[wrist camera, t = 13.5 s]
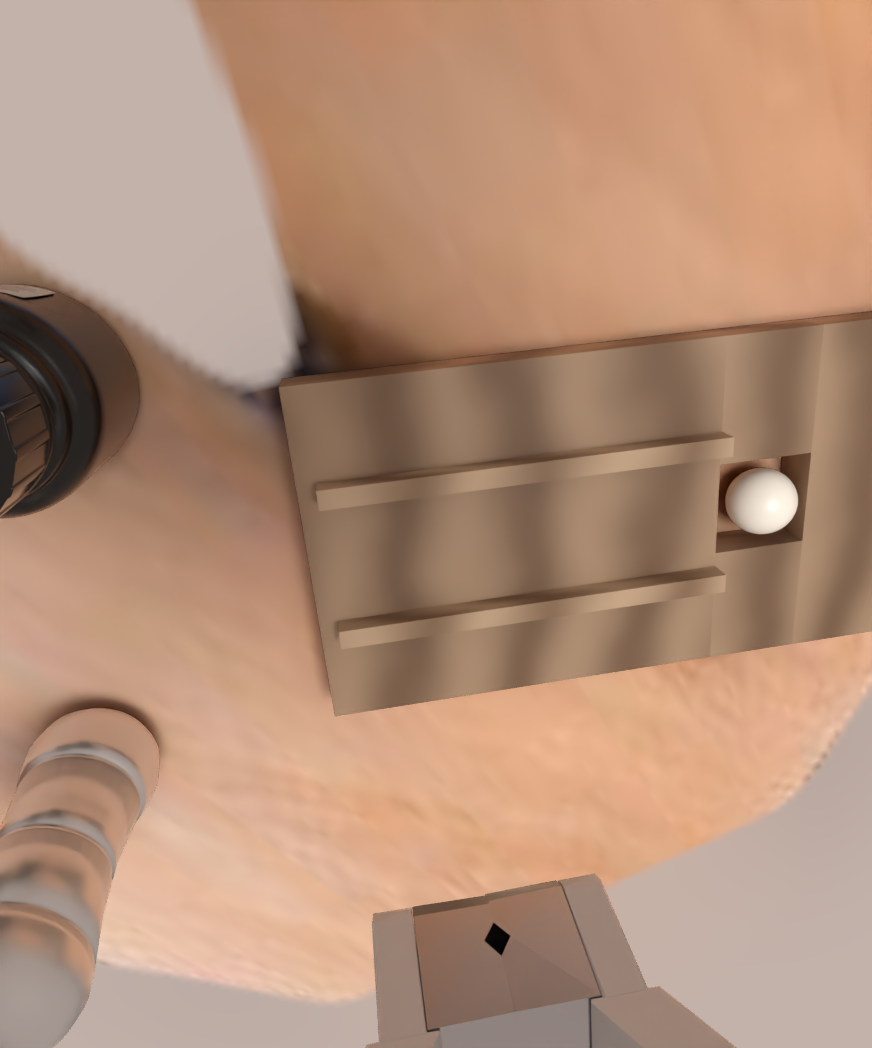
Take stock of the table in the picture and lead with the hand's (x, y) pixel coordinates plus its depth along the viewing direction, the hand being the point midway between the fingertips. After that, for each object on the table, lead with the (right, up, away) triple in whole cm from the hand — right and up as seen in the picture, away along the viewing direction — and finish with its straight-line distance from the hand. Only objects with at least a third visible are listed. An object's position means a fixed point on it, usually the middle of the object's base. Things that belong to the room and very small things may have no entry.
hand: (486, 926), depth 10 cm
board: (+8, +6, +30) cm, 32 cm away
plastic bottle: (-19, -7, +31) cm, 37 cm away
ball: (+17, +7, +29) cm, 35 cm away
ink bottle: (-19, +12, +24) cm, 33 cm away
